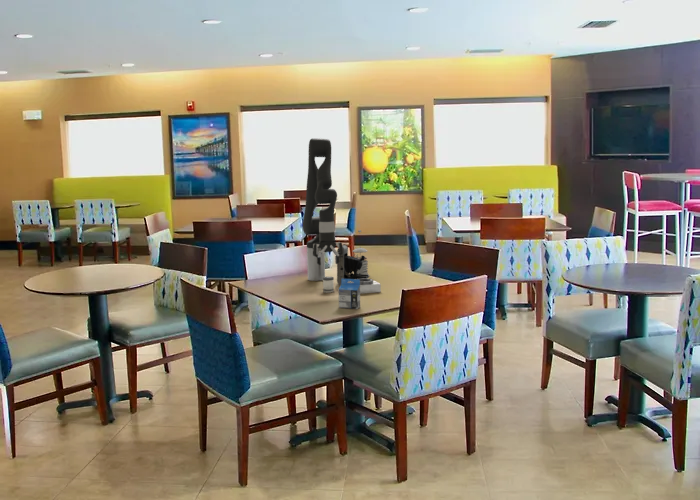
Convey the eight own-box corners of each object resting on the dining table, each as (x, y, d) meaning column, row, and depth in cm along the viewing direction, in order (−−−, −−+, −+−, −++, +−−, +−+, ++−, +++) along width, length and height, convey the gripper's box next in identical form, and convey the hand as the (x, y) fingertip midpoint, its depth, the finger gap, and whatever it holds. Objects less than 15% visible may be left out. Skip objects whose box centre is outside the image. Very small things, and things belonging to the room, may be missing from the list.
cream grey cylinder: (322, 291, 344) (321, 276, 343) (332, 290, 345) (332, 276, 344) (324, 293, 339) (324, 278, 338) (335, 292, 340) (334, 277, 339)
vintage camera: (366, 286, 355) (367, 247, 352) (336, 285, 358) (336, 246, 355) (369, 283, 364) (370, 245, 361) (340, 281, 367) (341, 243, 364)
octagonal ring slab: (344, 291, 343) (344, 279, 342) (374, 288, 347) (374, 277, 346) (349, 294, 334) (349, 283, 334) (380, 292, 338) (380, 280, 338)
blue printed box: (338, 308, 307) (337, 280, 305) (341, 306, 310) (340, 278, 309) (357, 309, 304) (357, 281, 302) (360, 307, 307) (360, 279, 305)
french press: (373, 275, 384) (372, 229, 380) (362, 278, 374) (361, 231, 371) (357, 273, 389) (356, 228, 386) (346, 277, 379) (345, 230, 376)
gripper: (339, 229, 344) (340, 262, 346) (310, 231, 340) (311, 264, 342) (343, 230, 336) (344, 264, 339) (314, 232, 333) (315, 266, 335)
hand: (328, 264), depth 340 cm, fingers open, 8 cm apart
